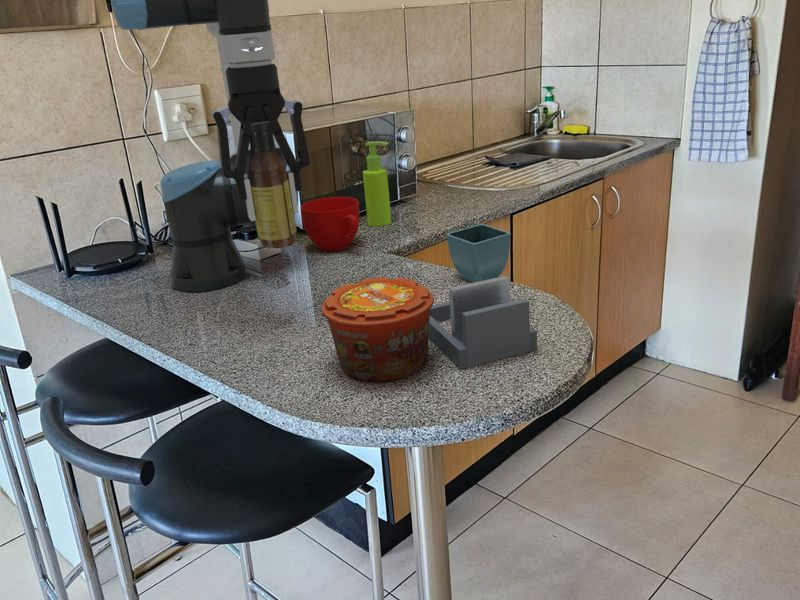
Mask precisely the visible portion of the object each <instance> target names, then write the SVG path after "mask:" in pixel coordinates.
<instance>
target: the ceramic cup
mask: <svg viewBox="0 0 800 600" xmlns="http://www.w3.org/2000/svg"><path fill="white" fill-rule="evenodd" d="M300 215H301V219H302V224H303V227H304V230H305V232H306V234H307V236H308V237H309V239H310V240H311V242H312V243H313V244H314V245H315V246H316V247H318V248H319V249H320V250H321V251H322V252H338V251H342V250H345V249H347V248H349V247H350V245H351V244H352V242H353V240H354V239H355V237H356V235H357V233H358V230H359V224H360V202H359V199H357V198H354V197H351V196H350V197H349V196H331V197H322V198H317V199H313V200H309V201H306V202H304V203H302V204H301V206H300Z"/></svg>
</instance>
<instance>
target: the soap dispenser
mask: <svg viewBox="0 0 800 600" xmlns="http://www.w3.org/2000/svg"><path fill="white" fill-rule="evenodd" d="M389 144H390V143H389V142H387V141H383V140H382V141H381V140H375V141H368V142H365V147H368V151H369V154H368V155H367V156H365V157H366V158H365V159H366V166H367V168H366V169H365V170H363V171H362V180H363V188H364V200H365V209H366V218H367V225H368V226H369V227H384V226H389V225H390V224H392V213H391V203H390V191H389V180H388V179H389V178H388V169H386V168H384V167H382V161H381V160H382V159H381V158H382V157H381V155H380V154H378V153H377V146H383V147H387V146H388V145H389Z"/></svg>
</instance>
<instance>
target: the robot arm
mask: <svg viewBox="0 0 800 600" xmlns="http://www.w3.org/2000/svg"><path fill="white" fill-rule="evenodd" d="M110 5H111V7H112V11H113V12H112V13H113V16H114V18H115V21H116V24H117V26H118V27H119V28H120V29H122V30H124V31H128V30H129V31H130V30H131V31H133V30H138V31H144V30H149V29H151V30H152V29H161V28H171V27H178V26H194V25H196V26H197V25H204V24H205V26H206V30H207V31H208V33H209V34H211V35H212V36H213V37H215V39H216V43H217V48H218V49H217V50H218V56H219V61H220V67H221V73H222V81H223V85H224V92H225V96H226V102H227V103H226V104H227V106H226V107H223V108H221V109H219V110H218V109H217V110H216V109H215V110H212V112H211V117H212V118H213V122H214V123H215V126H216V129H217V130H216V131H217V140H218V150H219V158H220V159H219V160H220V163H219V162H218V161H217V160H206V161H205V160H204V161H199V162H194V163H191V164H187V165H183V166H181V167H177V168H175V169H172V170H171V171H168V172H167V173H165V174H164V175H163V176H162V178H161V180H160V189H161V195H162V198H161V200H162V203H163V204H164V209H165V214H166V218H167V223H168V228H169V233H170V238H171V243H172V248H173V249H172V256H171V257H172V258H171V264H170V265H171V266H170V271H169V272H170V274H169V275H170V276H169V277H170V281H171V286H172V287H173V289H176V290H178V291H182V292H190V293H191V292H205V291H207V292H208V291H213V290H217V289H222V288H225V287H228V286H231V285H234V284H236V283H238V282H240V281H242V280H243V279H244V278H245V277H246V276H247V273H248V272H247V265H246V263H245V260H244V258H243V256H242V254H241V252H240V250H239V249H238V247H237V245H236V243H235V242H234V240H233V237H232V233H231V231H232V230H231V227H234V226H242V225H248V224H249V225H250V224H256V221H255V220H256V217H255V211H254V205H253V199H252V193H251V186H250V180H249V179H248V172H249V165H250V155H251V150H250V137H251V133H252V132H251V124H253V123H256V122H263V121H270V124H271V126H272V129H273V131H272V132H273V138H274V144H275V149H276V151H277V152H278V154H279V155H280V156H281V157H282V159H283V161H284V163H285V166H286V171H287V177H288V180H289V186H290V193H291V200H292V206H293V213H294V216H295V215H296V214H299V192H300V191H302V187H303V186H302V181H301V175H300V173H301V169H303V168H305V167H308V166H309V165H310V164H311V160H310V156H309V155H310V154H309V151H308V147H307V141H306V140H307V139H306V135H305V131H304V126H303V121H302V113H303V107H304V106H303V103H302V102H300V101H298V100H288V99H287V100H286V99H285V98H284V96H283V95H282V92H281V89H280V88H281V87H280V81H279V74H278V66H277V65H276V63H273V60H275V59H276V52H275V46H274V40H273V34H272V25H271V20H270V6H269V5H270V4H269V0H110ZM284 108H285V110H286V114H287V115H289V118H290V124H291V128H292V132H293V138H294V142H295V146H296V148H295V149H296V152H297V157H298V158H297V159H296V157H295V155H294V153H293V150H292V149H291V146H290V145H289V142H288V140H287V138H286V136H285V133H284V131H283V129H282V127H281V124H280V123H279V118H280V116H281V113H282V112H283V109H284ZM229 121H230V124H231V131H232V136H233V142H234V148H235V149H234V151H233V153H231V154H230V142H229V132H228V131H229V130H228V128H227V127H228V126H227V124H229Z"/></svg>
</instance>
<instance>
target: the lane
mask: <svg viewBox="0 0 800 600" xmlns="http://www.w3.org/2000/svg"><path fill="white" fill-rule="evenodd" d="M442 320H443V321H447V320H451V311H450V301H447V302H442V303H439V304H433V305H432V307H431V308H430V321H429V339H428V340H429V341H430V342H432V344H434V345H435V346H436V347H437V348H438V349H439V350H440V352H442V353H443V355H445V356H446V357H447V358H448V359H449V360H451V362H452V363H453V364H454V365H455V366H456V367H458V369H459V370H463V369H467V368H470V367H475V366H478V365H483V364H486V363H491V362H495V361H498V360H502V359H507V358H510V357H514V356H518V355H523V354H525V353H530V352H534V351H537V350H538V331H537V330H536V329H535V328H533V327H532V326H531V325H530V324H531V323H530V301H529V300H528V299H527V298H521V299H518V300H511V301H510V302H507V303H503V304H499V305H494V306H490V307H486V308H481V309H477V310H472V311H468V312H464V313H462V325H463V344H462V343H460V342H459V341H458V340H457V339H456V338H455V337H454V336H453V335H452V333H451V332H450V331H448V330H447V329H446V328H445V327H444V326H442V324H440V323H439V322H442ZM438 321H439V322H438Z"/></svg>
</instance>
